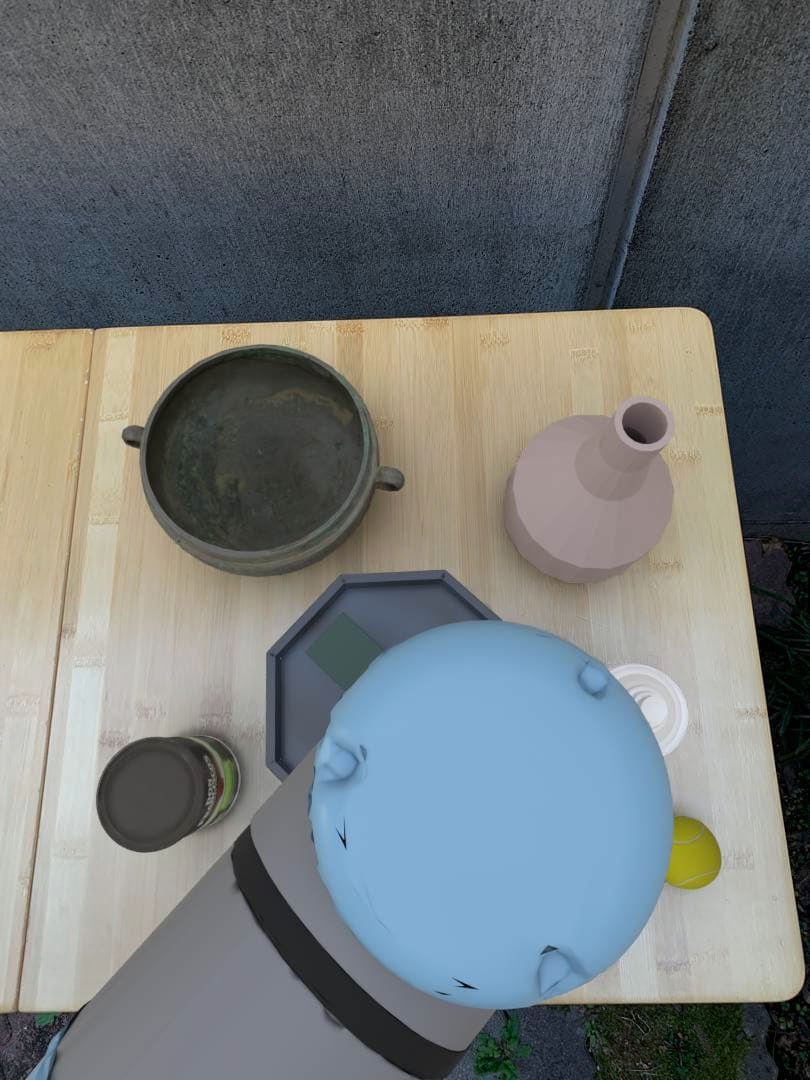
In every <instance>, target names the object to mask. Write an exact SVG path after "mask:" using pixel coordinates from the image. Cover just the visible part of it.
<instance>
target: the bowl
mask: <svg viewBox="0 0 810 1080" xmlns="http://www.w3.org/2000/svg"><path fill="white" fill-rule="evenodd" d="M121 439H122V441H123V442H124V444H125V445H126V446H128V447H131V448H133V449H138V450H139V456H138V457H139V458H138V462H139V463H138V464H139V470H140V471H139V472H140V478H141V485H142V490H143V493H144V497H145V500H146V503H147V505H148V508H149V510H150V513H151V514H152V516H153V518H154V520H155V521H156V522H157V523H158V525H159V526H160V527H161V529H162V530H163V531H164V532H165V534H166V535H167V536H168V537H169V538H170V539H171V540H172V541H173V542H174V543H175V544H176V545H178V547H180V548H181V549H182V550H183V551H185V553H187V554H188V555H190V556H192V557H193V558H195V559H196V560H198V561H199V562H201V563H203V564H205V565H207V566H209V567H211V568H214V569H215V570H219V571H221V572H225V573H229V574H233V575H237V576H243V577H254V578H265V577H266V578H267V577H277V576H283V575H287V574H292V573H295V572H299V571H301V570H303V569H305V568H306V569H307V568H308V567H310V566H313V565H315V564H317V563H319V562H321V561H323V560H324V559H325V558H327V557H329V556H330V555H331V554H332V553H334V552H335V551H336V550H338V549H339V548H340V547H342V545H343V544H344V543H345V542H346V541H347V540H349V538H350V537H351V536H352V535H353V534H354V532H355V531H356V530H357V529H358V527H359V525H360V524H361V522H362V521H363V520H364V518H365V516H366V514H367V513H368V510H369V508H370V506H371V504H372V501H373V499H374V495H375V493H376V490H381V491H384V492H385V491H386V492H399V491H401V489H403V488H404V486H405V483H406V479H405V475H404V473H403V472H402V471H401V470H400V469H398V468H396V467H392V466H381V465H380V449H379V448H380V447H379V440H378V435H377V431H376V428H375V424H374V422H373V419H372V415H371V413H370V411H369V408H368V406H367V405H366V402H365V401H364V399H363V397H362V396H361V395H360V393H359V392H358V391H357V389H356V388H355V387H354V386H353V385H352V384H351V383H350V381H349V380H348V379H347V378H346V377H345V376H344V375H342V374H341V373H340V372H338V371H337V370H336V369H335V368H334V367H333V366H331V365H330V364H328V363H327V362H325V361H324V360H322V359H321V358H318V356H315V355H313V354H310V353H308V352H306V351H302V350H299V349H296V348H292V347H290V346H284V345H278V344H265V343H256V344H249V345H242V346H236V347H235V346H234V347H232V348H231V347H230V348H228V349H224V350H221V351H218V352H216V353H214V354H211V355H210V356H207V357H205V358H203V359H200V360H199V361H197V362H196V363H195V364H193V365H192V366H190V367H189V368H188V369H186V370H185V371H183V372H182V373H181V374H179V376H177V377H176V378H175V379H174V380H173V381H172V382H171V383H170V384H169V385H168V386H167V387H166V388H165V389H164V391H163V392H162V393H161V395H160V397H159V398H158V399H157V400H156V402H155V404H154V405H153V407H152V409H151V411H150V413H149V415H148V417H147V420H146V422H145V425H144V426H142V425H141V426H140V425H137V424H133V425H128V426H127V427H125V428H123V429H122V432H121Z"/></svg>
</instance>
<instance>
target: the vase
mask: <svg viewBox="0 0 810 1080" xmlns="http://www.w3.org/2000/svg"><path fill="white" fill-rule="evenodd" d="M675 430H676V421H675V417H674V414H673V412H672V411H671V409H670V408H669V406H668V405H667V404H665V403H664V402H663V401H662V400H660V399H658V398H655V397H652V396H650V395H635V396H632V397H629V398H627V399H626V400H624V401H623V402H622V403H621V404H620V405H619V406H618V407H617V409H616V411H615V412H614V414H613V415H612V416H611V417H610V416H606V415H605V414H575V415H572V416H569V417H565V418H562V419H559V420H556V421H553V422H550V423H549V424H548V425H547V426H545V427H544V428H543V429H542V430H540V431H538V433H536V434H535V435H534V436H533V437H532V438H530V439H529V441H528V443H527V444H526V446H525V448H524V450H523V451H522V453H521V454H520V456H519V458H518V460H517V461H516V463H515V465H514V467H513V468H512V471H511V473H510V475H509V476H508V478H507V480H506V484H505V491H504V495H503V501H502V509H503V516H504V521H505V526H506V531H507V533H508V535H509V536H510V538H511V540H512V541H513V543H514V545H515V547H516V548H517V550H518V553H520V555H521V556H522V557H523V558H524V559H525V560H526V561H528V562H529V563H530V564H531V565H533V566H534V567H535V568H536V569H537V570H539V571H540V572H541V573H543V574H545V575H546V576H549V577H552V578H554V579H557V580H560V581H563V582H565V583H567V584H568V583H569V584H598V583H600V582H603V581H607V580H610V579H613V578H615V577H618V576H621V575H622V574H624V573H625V572H626V571H627V570H628V569H630V568H631V567H632V566H633V565H635V564H636V563H637V562H638V561H639V560H640V559H641V558H643V556H645V555H646V554H647V553H648V552H649V551H650V550H652V549H653V548H654V547H655V546H656V545H657V544H658V543H659V542H660V540H661V538H662V536H663V534H664V533H665V531H666V529H667V527H668V525H669V523H670V521H671V519H672V513H673V505H674V497H675V496H674V495H675V490H674V485H673V481H672V477H671V473H670V470H669V465H668V463H667V462H666V460H665V459H664V458H663V456H662V454H661V452H662V451H663V450H664V449H665V447H666V446H668V444H670V442H671V440H672V438H673V437H674V435H675V432H676V431H675Z"/></svg>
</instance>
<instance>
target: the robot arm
mask: <svg viewBox="0 0 810 1080" xmlns="http://www.w3.org/2000/svg"><path fill="white" fill-rule="evenodd" d="M672 795H673V794H672V788H671V783H670V776H669V773H668V768H667V765H666V762H665V759H664V757H663V755H662V752H661V749H660V747H659V744H658V742H657V740H656V737H655V735H654V733H653V731H652V729H651V727H650V725H649V723H648V721H647V720H646V718H645V716H644V714H643V713H642V711H641V709H640V708H639V706H638V704H637V703H636V701H635V700H634V698H633V697H632V696H631V695H630V694H629V692H628V691H627V690H626V689H625V688H624V687H623V686H622V684H621V683H620V682H619V681H618V680H617V679H616V678H615V677H614V676H613V675H612V674H611V673H610V672H609V670H608V669H607V668H606V666H605V664H604V662H603V661H601V660H600V659H598V658H596V657H594V656H592V655H591V654H589V653H588V652H586V651H585V650H583V649H581V647H579V646H578V645H576V644H574V643H572V642H570V641H568V640H567V639H565V638H563V637H560V636H559V635H556V634H555V633H552V632H549V631H546V630H543V629H540V628H538V627H534V626H532V625H531V626H530V625H527V624H522V623H518V622H514V621H506V620H503V621H496V620H479V621H463V622H458V623H452V624H447V625H443V626H439V627H436V628H433V629H430V630H427V631H424V632H422V633H420V634H417V635H415V636H413V637H411V638H409V639H407V640H405V641H404V642H402V643H397V644H395V645H394V646H392V647H391V648H389V649H388V650H386V651H385V652H383V653H382V654H381V655H379V656H378V657H377V658H376V659H375V660H374V661H373V662H372V663H371V664H370V665H369V667H368V669H367V670H366V671H365V672H364V673H363V674H362V675H361V676H360V677H359V678H358V680H357V681H356V682H355V683H354V684H353V685H352V686H351V687H350V688H349V689H348V690H347V691H346V692H345V693H344V694H343V695H342V696H341V698H340V699H339V701H338V702H337V703H336V705H335V706H334V708H333V710H332V711H331V721H330V724H329V726H328V728H327V730H326V734H325V735H324V737H323V738H322V739H321V740H320V741H319V742H318V743H317V744H316V746H315V747H314V748H313V749H312V750H311V751H310V752H309V753H308V755H307V756H306V757H305V758H304V759H303V760H302V761H301V762H300V763H299V765H298V766H297V767H296V768H295V769H294V770H293V771H292V772H291V774H290V775H289V776H288V777H287V778H286V779H285V780H284V781H283V783H282V782H281V784H279V786H278V787H277V788H276V789H275V790H274V791H273V793H272V794H271V795H270V796H269V797H268V798H267V799H266V800H265V802H263V804H262V805H261V806H260V807H259V808H258V809H257V810H256V812H255V813H254V814H253V815H252V816H251V819H250V823H249V824H248V825H247V826H246V827H245V828H244V830H243V831H242V832H241V833H240V834H239V835H238V836H237V837H236V839H235V840H234V842H232V844H231V845H230V846H229V847H228V848H227V850H225V852H224V853H223V854H222V855H221V856H220V857H219V858H218V860H216V862H215V863H214V864H213V865H212V866H211V867H210V868H209V869H208V870H207V871H206V872H205V874H204V875H203V876H202V877H201V878H200V879H199V881H197V883H196V884H194V886H192V888H191V889H190V890H189V891H188V892H187V894H185V896H184V897H183V898H182V899H181V900H180V901H179V902H178V904H176V905H175V907H174V908H173V909H172V910H171V911H170V912H169V913H168V915H166V917H165V918H164V919H163V920H162V921H161V922H160V923H159V924H158V925H157V927H156V928H155V929H154V930H153V931H152V932H151V934H149V935H148V937H146V939H145V940H144V941H143V942H142V943H141V944H140V945H139V947H138V948H137V949H136V950H135V951H134V952H133V953H132V954H131V955H130V956H129V957H128V958H127V960H125V962H124V963H123V964H122V965H121V966H120V968H118V969H117V971H115V973H114V974H113V975H112V976H111V977H110V978H109V980H108V981H106V983H105V984H104V985H103V986H102V987H101V988H100V990H99V991H98V992H97V993H96V994H95V995H94V996H93V997H92V998H91V999H89V1001H86V1002H85V1003H84V1004H83V1005H81V1007H80V1008H79V1009H78V1010H77V1011H76V1012H75V1014H74V1015H73V1016H72V1017H71V1018H70V1020H69V1021H68V1022H67V1023H66V1024H65V1025H64V1027H63V1028H61V1029H60V1031H59V1032H57V1034H55V1036H53V1038H52V1039H51V1040H50V1042H49V1043H48V1045H47V1046H48V1047H47V1049H46V1052H45V1055H44V1056H43V1057H42V1058H41V1059H40V1061H38V1063H37V1064H36V1066H35V1067H34V1068H33V1069H32V1071H30V1073H29V1074H28V1076H26V1077H25V1079H24V1080H447V1078H448V1077H449V1076H450V1075H451V1074H452V1073H453V1071H454V1070H455V1068H456V1067H457V1066H458V1065H459V1063H460V1062H461V1061H462V1060H463V1058H464V1057H465V1055H466V1054H468V1052H469V1049H470V1047H471V1043H472V1042H473V1041H474V1039H475V1038H476V1037H477V1035H478V1034H479V1033H480V1032H481V1031H482V1029H483V1028H484V1027H485V1026H486V1025H487V1023H488V1021H489V1020H490V1019H491V1018H492V1016H493V1015H494V1013H496V1011H497V1010H503V1011H505V1010H514V1009H522V1008H523V1009H524V1008H530V1007H532V1006H536V1005H538V1004H540V1003H542V1002H545V1001H548V1000H550V999H553V998H556V997H559V996H561V995H564V994H567V993H569V992H571V991H573V990H576V989H578V988H580V987H582V986H584V985H586V984H588V983H590V982H591V981H593V980H594V979H595V978H597V977H599V975H601V974H603V973H605V972H606V971H608V970H609V969H610V968H611V967H612V966H613V965H614V964H616V963H617V962H618V961H619V960H620V959H621V958H622V957H623V955H624V954H625V953H627V951H628V950H629V949H630V948H631V947H632V946H633V944H634V943H635V942H636V940H637V939H638V938H639V936H640V935H641V933H642V931H643V930H644V929H645V927H646V926H647V924H648V923H649V920H650V918H651V916H652V914H653V912H654V910H655V908H656V906H657V905H658V901H659V898H660V896H661V893H662V891H663V888H664V886H665V883H666V881H665V879H666V876H667V872H668V868H669V863H670V858H671V852H672V844H673V829H674V817H675V816H674V801H673V796H672Z"/></svg>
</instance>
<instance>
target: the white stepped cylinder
mask: <svg viewBox="0 0 810 1080" xmlns="http://www.w3.org/2000/svg"><path fill="white" fill-rule="evenodd" d="M605 667H606V666H605ZM606 668H607V669H608V670H609V672H610V673H611V674H612V675H613V676H614V677H615V678H616V679H617V680H618V681H619V682H620V683H621V684H622V686H623V687H624V688H625V689H626V690H627V691H628V692H629V694H630V695H631V696H632V697H633V698H634V700H635V701H636V703H637V704H638V706H639V708H640V709H641V711H642V713H643V714H644V716H645V718H646V720H647V721H648V723H649V725H650V727H651V729H652V731H653V733H654V735H655V737H656V740H657V742H658V744H659V747H660V749H661V752H662V755H663V758H664V757H665V756H668V754H670V753H672V752H673V751H675V749H676V748H677V747H678V746H679V745H680V744H681V743H682V741H683V740H684V738H685V736H686V733H687V731H688V727H689V707H688V703H687V700H686V697H685V695H684V693H683V692H682V690H681V688H680V687H679V686H678V684H677V683H676V682H675V681H674V680H673V678H671V677H670V676H669V675H667V674H666V673H664V671H661V670H659V669H657V668H656V667H654V666H653V667H652V666H651V665H648V664H644V663H641V662H632V661H631V662H621V663H616V664H613V665H611V666H607V667H606Z"/></svg>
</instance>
